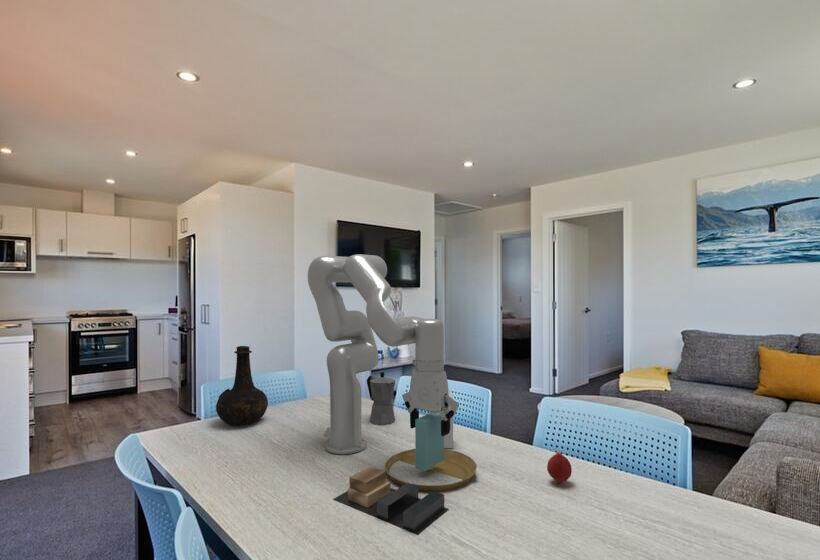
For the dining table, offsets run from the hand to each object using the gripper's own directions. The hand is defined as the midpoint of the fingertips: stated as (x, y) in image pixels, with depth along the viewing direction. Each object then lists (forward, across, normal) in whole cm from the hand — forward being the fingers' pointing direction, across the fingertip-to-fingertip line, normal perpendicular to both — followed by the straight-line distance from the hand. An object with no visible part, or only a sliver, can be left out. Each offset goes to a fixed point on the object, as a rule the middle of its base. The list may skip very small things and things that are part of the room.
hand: (429, 430), depth 113 cm
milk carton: (+12, -9, +20) cm, 25 cm away
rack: (+12, +2, -20) cm, 23 cm away
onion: (+12, +29, +15) cm, 35 cm away
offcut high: (+8, -4, -20) cm, 22 cm away
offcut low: (+11, -4, -20) cm, 23 cm away
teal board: (+9, 0, 0) cm, 9 cm away
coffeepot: (+12, -40, +27) cm, 50 cm away
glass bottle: (+12, -80, -4) cm, 81 cm away
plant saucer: (+12, 0, 0) cm, 12 cm away
